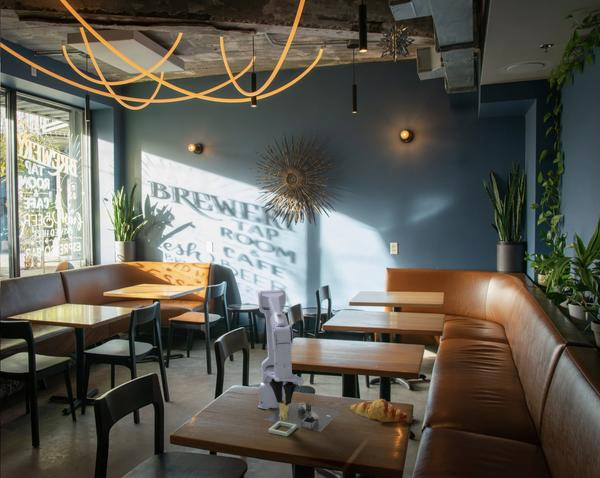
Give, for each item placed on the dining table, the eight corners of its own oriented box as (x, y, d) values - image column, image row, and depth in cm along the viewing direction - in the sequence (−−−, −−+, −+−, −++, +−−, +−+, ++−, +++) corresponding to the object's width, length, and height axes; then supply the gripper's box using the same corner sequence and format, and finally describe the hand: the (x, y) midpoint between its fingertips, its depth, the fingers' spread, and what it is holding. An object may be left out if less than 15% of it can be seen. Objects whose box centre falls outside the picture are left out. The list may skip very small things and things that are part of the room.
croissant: (347, 424, 178) (343, 409, 175) (356, 402, 186) (351, 387, 182) (405, 434, 169) (402, 418, 165) (412, 411, 176) (408, 395, 173)
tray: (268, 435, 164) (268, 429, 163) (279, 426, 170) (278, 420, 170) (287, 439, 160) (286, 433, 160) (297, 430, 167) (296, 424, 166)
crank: (296, 410, 180) (296, 397, 180) (303, 408, 181) (303, 396, 181) (312, 425, 168) (312, 411, 167) (320, 423, 169) (320, 410, 168)
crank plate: (263, 422, 173) (263, 414, 173) (288, 403, 189) (288, 396, 189) (320, 434, 163) (320, 426, 163) (341, 413, 179) (341, 406, 179)
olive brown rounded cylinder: (277, 419, 165) (277, 402, 164) (283, 416, 167) (282, 399, 167) (285, 422, 163) (284, 404, 162) (290, 418, 166) (290, 401, 165)
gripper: (258, 362, 164) (259, 402, 165) (295, 369, 156) (295, 411, 157) (270, 356, 170) (271, 395, 171) (306, 363, 162) (307, 403, 163)
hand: (283, 402), depth 165 cm, fingers closed on olive brown rounded cylinder, 3 cm apart
